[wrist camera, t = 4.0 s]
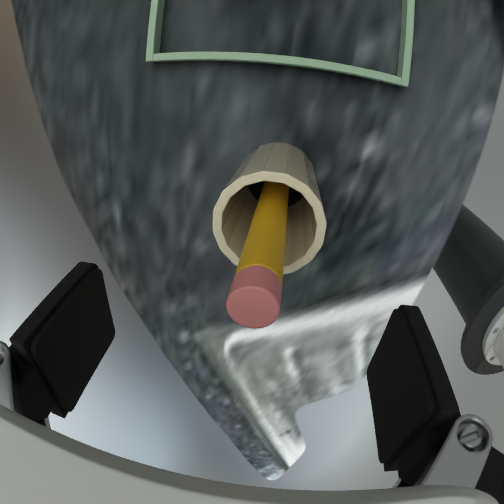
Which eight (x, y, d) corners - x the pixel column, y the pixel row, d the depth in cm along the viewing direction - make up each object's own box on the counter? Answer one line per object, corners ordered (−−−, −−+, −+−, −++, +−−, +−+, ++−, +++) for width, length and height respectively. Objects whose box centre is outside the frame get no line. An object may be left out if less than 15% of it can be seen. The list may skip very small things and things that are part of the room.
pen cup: (319, 146, 23) (335, 180, 15) (309, 215, 26) (315, 282, 17) (244, 137, 24) (214, 166, 15) (239, 206, 27) (211, 268, 18)
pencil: (290, 169, 24) (283, 290, 10) (287, 191, 25) (276, 332, 11) (267, 166, 24) (226, 283, 10) (265, 188, 25) (225, 325, 11)
